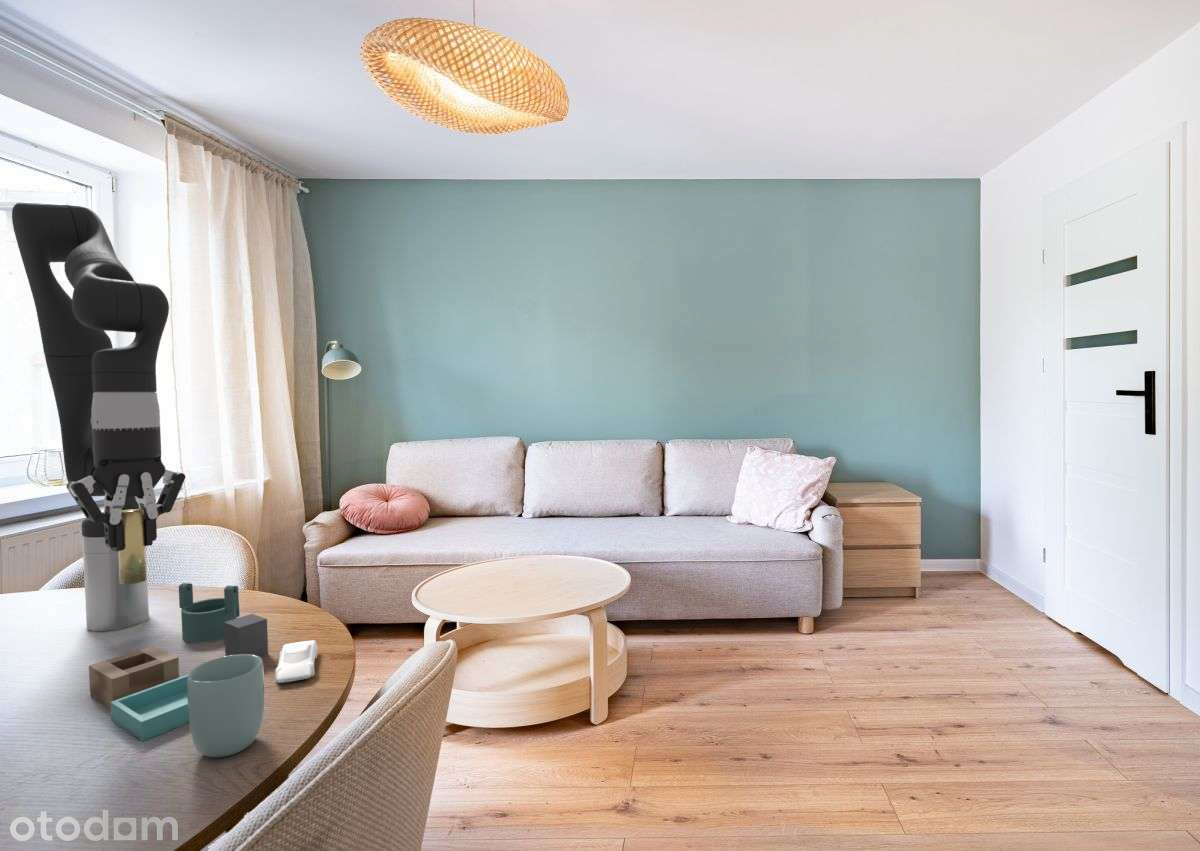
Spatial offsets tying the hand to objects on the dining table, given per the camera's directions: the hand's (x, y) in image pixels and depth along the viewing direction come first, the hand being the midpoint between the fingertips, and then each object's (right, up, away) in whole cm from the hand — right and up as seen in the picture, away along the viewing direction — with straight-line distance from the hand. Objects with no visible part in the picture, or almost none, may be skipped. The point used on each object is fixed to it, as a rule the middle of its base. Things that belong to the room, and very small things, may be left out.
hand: (132, 547), depth 86 cm
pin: (0, -5, 0) cm, 5 cm away
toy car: (+18, -22, +10) cm, 30 cm away
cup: (+21, -22, -11) cm, 33 cm away
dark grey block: (+8, -21, +14) cm, 26 cm away
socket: (-1, -21, +2) cm, 22 cm away
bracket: (-4, -20, +24) cm, 32 cm away
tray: (+8, -22, -3) cm, 23 cm away
